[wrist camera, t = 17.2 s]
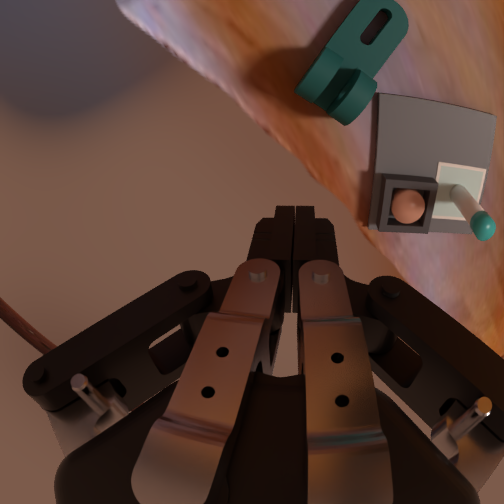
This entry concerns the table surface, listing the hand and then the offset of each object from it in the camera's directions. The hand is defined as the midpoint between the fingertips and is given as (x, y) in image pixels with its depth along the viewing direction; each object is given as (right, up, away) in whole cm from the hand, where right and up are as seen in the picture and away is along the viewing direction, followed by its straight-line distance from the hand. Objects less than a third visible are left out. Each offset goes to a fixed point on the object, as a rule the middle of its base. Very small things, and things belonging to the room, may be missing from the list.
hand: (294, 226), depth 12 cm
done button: (+20, +6, +27) cm, 34 cm away
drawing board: (+24, +11, +24) cm, 36 cm away
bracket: (+11, +24, +17) cm, 31 cm away
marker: (+29, +8, +24) cm, 38 cm away
